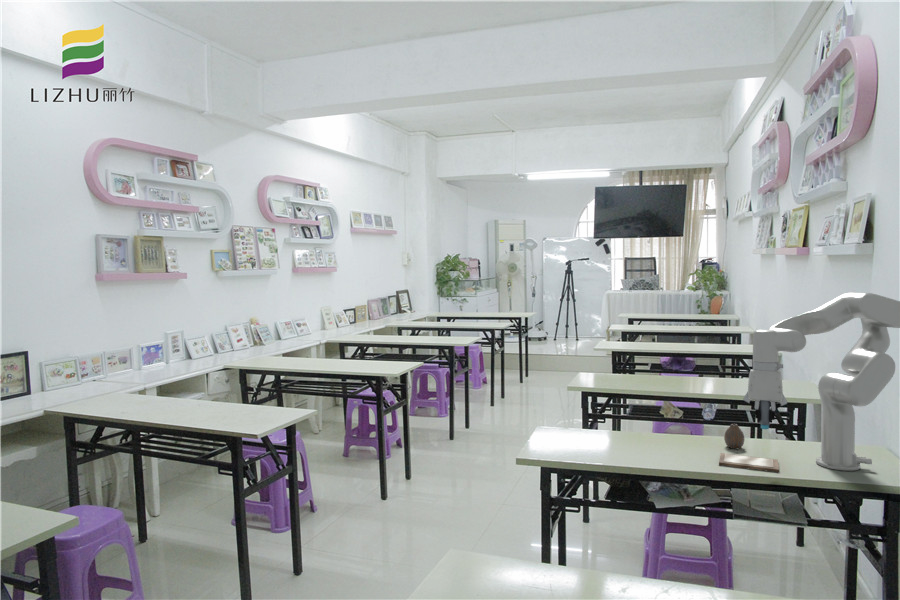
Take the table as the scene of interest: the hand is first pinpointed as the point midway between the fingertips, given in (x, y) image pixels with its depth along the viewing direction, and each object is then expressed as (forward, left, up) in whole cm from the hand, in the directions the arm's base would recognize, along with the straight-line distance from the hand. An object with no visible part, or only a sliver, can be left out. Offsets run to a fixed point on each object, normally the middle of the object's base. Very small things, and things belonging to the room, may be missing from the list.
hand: (764, 420), depth 194 cm
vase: (+10, -24, -17) cm, 31 cm away
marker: (0, 0, -3) cm, 3 cm away
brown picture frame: (+5, -4, -16) cm, 18 cm away
